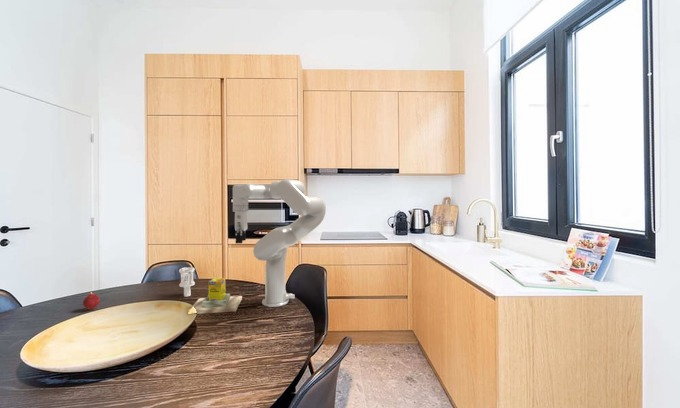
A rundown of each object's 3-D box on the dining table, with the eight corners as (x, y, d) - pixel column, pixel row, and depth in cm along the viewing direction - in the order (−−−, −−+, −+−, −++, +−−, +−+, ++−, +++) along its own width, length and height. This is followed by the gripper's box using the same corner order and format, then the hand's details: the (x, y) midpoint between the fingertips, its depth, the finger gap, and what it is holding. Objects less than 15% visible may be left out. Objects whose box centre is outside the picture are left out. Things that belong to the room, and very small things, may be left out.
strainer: (176, 297, 145) (175, 268, 145) (187, 292, 152) (187, 265, 152) (187, 298, 143) (186, 269, 143) (197, 294, 150) (197, 265, 150)
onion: (103, 307, 131) (103, 290, 131) (91, 312, 126) (91, 294, 125) (92, 307, 132) (91, 290, 132) (79, 312, 126) (79, 294, 126)
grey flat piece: (241, 298, 143) (241, 290, 143) (235, 311, 127) (235, 302, 127) (199, 301, 139) (199, 293, 139) (187, 314, 124) (187, 305, 123)
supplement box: (221, 304, 131) (221, 281, 131) (208, 305, 130) (208, 281, 130) (225, 300, 137) (225, 277, 136) (213, 300, 136) (212, 277, 136)
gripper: (245, 209, 138) (245, 244, 138) (250, 208, 155) (250, 239, 155) (229, 209, 136) (229, 244, 137) (236, 208, 153) (236, 239, 154)
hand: (240, 241), depth 146 cm, fingers open, 9 cm apart
